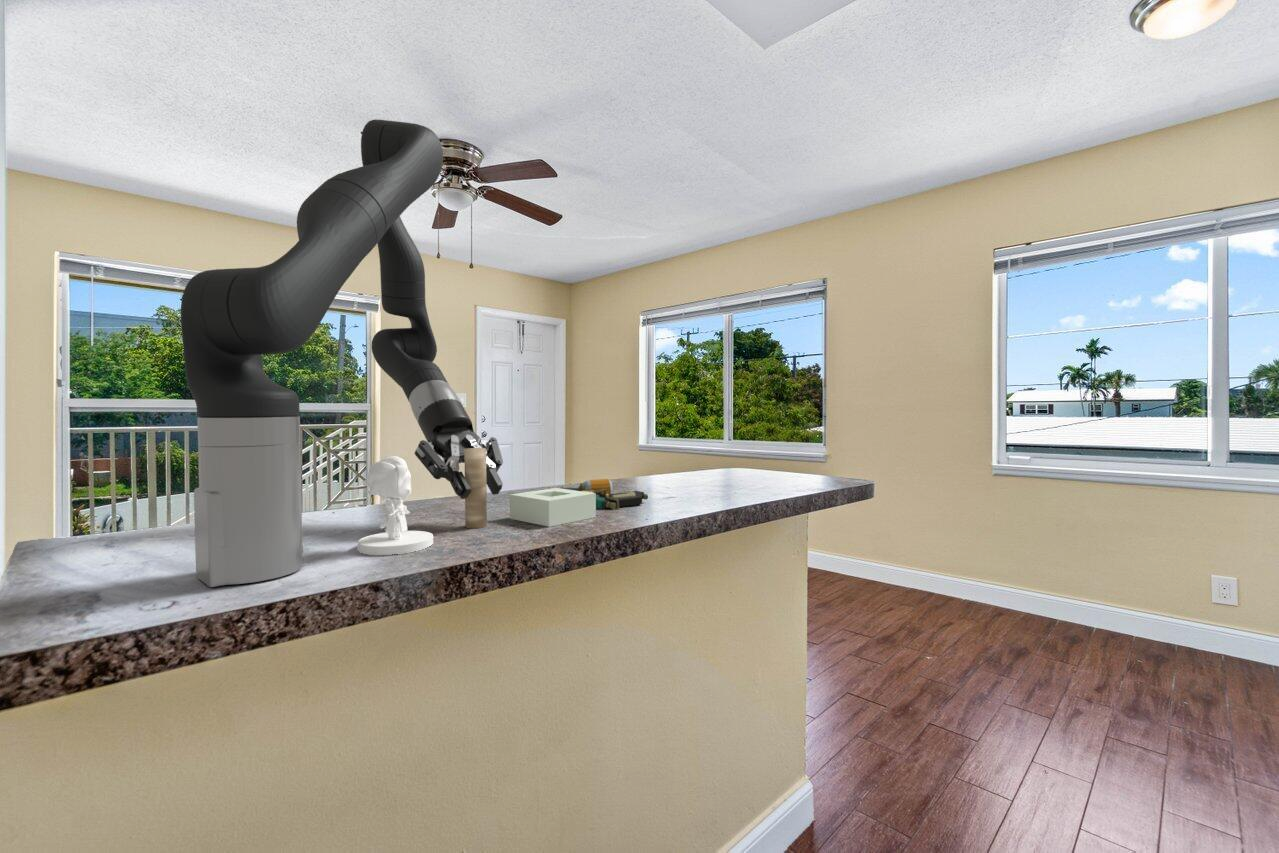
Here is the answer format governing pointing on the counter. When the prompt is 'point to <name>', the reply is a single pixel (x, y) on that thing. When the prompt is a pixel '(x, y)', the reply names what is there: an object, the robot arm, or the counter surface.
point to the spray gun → (609, 494)
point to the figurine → (392, 510)
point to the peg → (476, 488)
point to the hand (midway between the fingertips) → (482, 492)
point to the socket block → (552, 506)
